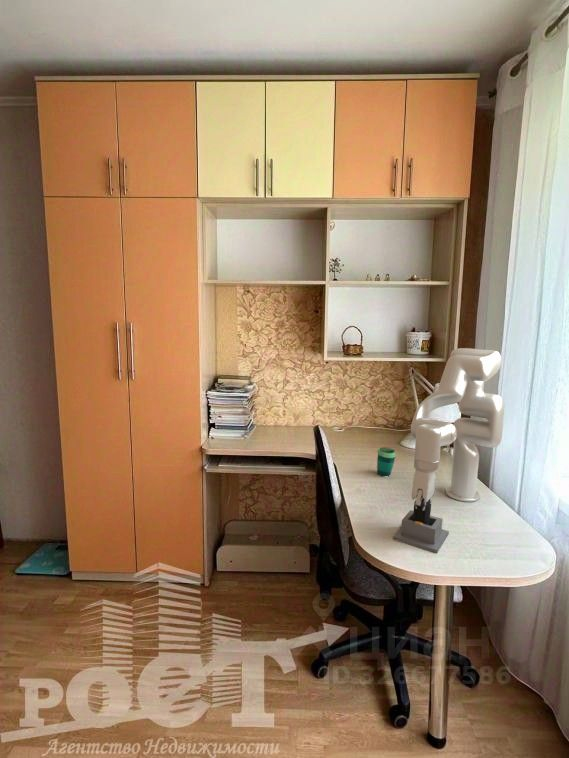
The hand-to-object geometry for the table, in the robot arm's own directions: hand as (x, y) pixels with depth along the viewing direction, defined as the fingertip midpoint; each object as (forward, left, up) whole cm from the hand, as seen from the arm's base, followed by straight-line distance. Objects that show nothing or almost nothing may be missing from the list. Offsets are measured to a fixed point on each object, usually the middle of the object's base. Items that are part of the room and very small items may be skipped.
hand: (422, 516), depth 140 cm
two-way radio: (0, 0, -5) cm, 5 cm away
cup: (-44, -29, -7) cm, 53 cm away
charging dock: (0, 0, -7) cm, 7 cm away
